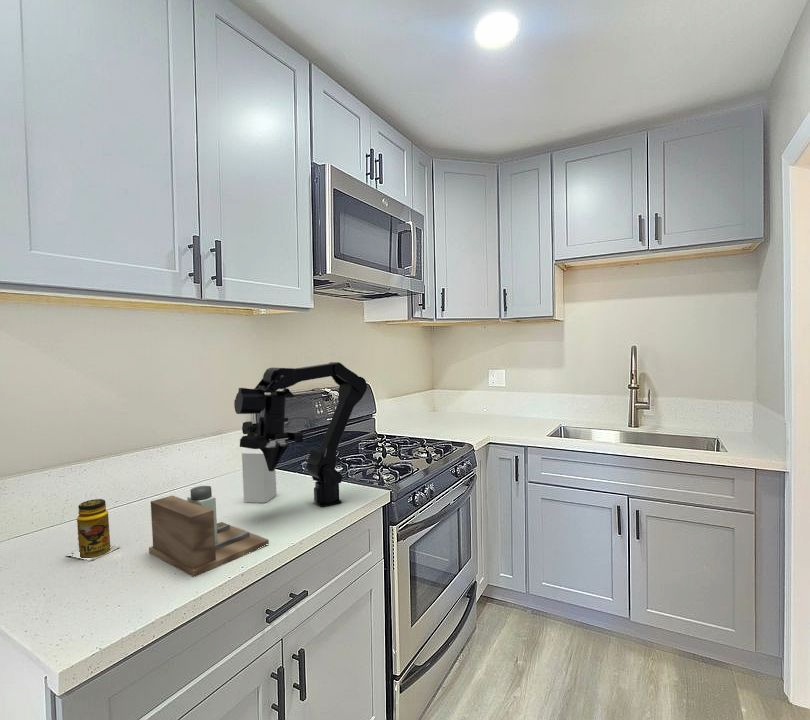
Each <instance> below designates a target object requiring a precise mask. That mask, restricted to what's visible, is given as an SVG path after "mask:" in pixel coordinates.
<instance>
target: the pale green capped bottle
mask: <svg viewBox="0 0 810 720" xmlns="http://www.w3.org/2000/svg"><path fill="white" fill-rule="evenodd" d="M186 499H187V501H189V502H192V503H195V504H198V505H201V506H203V507H206V508H209V509H212V510H213V511H214V531H215V544H217V543H218V538H217V523H218V522H217V503H216V502H217V501H216V500H217V499H216V497H215V496H213V495H212V486H210V485H199V486H195V487H193V488H191V489H190V495H189V496H186Z"/></svg>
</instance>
